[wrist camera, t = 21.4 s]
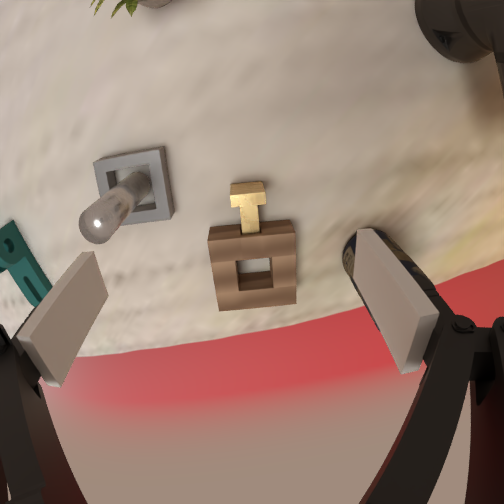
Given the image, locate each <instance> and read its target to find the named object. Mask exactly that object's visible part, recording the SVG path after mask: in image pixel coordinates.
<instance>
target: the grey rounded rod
mask: <svg viewBox="0 0 504 504" xmlns="http://www.w3.org/2000/svg"><path fill="white" fill-rule="evenodd" d="M150 187H151V184H150V180H149V178H148V177H147V176H146V175H145V174H144V173H141V172H134V173H131V174H130V175H129V176H127V177H126V178H125V179H123V180H122V181H121V182H119V183H118V184H117V185H116V186H114V187H113V188H112V189H110V190H109V191H108V192H107V193H105V194H104V195H103V196H102V197H100V198H99V199H98V200H97V201H96V202H94V203H93V204H92V205H91V206H90V207H88V208H87V209H86V210H85V211H84V212H83V213H82V214H81V216H80V218H79V228H80V231H81V233H82V235H83V236H84V238H85V239H87V240H88V241H89V242H91V243H94V244H102V243H105V242H107V241H108V240H109V239H110V237H111V236H112V235H113V234H114V232H115V231H116V230H117V229H118V228H119V226H120V225H121V224H122V223H123V222H124V220H125V219H126V218H127V217H128V216H129V214H130V213H131V212H132V211H133V210H134V209H135V207H136V206H137V205H138V204H139V203H140V202H141V201H142V199H143V198H144V197H145V196H146V195H147V194H148V192H149V190H150Z"/></svg>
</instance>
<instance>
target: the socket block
mask: <svg viewBox="0 0 504 504" xmlns="http://www.w3.org/2000/svg"><path fill="white" fill-rule="evenodd" d="M259 231H260V233H255V234H245V235H242V225H241V224H236V225H226V226H216V227H210V230H209V235H208V248H209V254H210V260H211V266H212V272H213V278H214V284H215V290H216V296H217V302H218V307H219V311H229V310H240V309H251V308H261V307H271V306H281V305H290V304H296V238H295V231H294V229H293V226H292V224H291V222H290V220H279V221H268V222H259ZM258 258H269V259H270V271H265V272H255V273H244V274H238V268H237V261H238V260H248V259H258Z"/></svg>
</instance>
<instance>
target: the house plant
mask: <svg viewBox="0 0 504 504" xmlns="http://www.w3.org/2000/svg"><path fill="white" fill-rule="evenodd" d="M103 1H104V0H100V1H99V3H98V5H97V7H96V9H95V14H96V12H97V10H98V9H99V7H100V6H101V4H102V3H103ZM170 1H171V0H122V1H121V2H119V3H118V4H117V6H116V8H115V10H114V11H113V13H112V17H113V16H114V14H115V13H116V12H117V11H118V9H119V8H120V7H121V6H122V5H124V4H125V3H126V8H127V10H128V12H129V13H130V15H131V17H132V14H133V12H134V11H135V10H136V7H137V3H138V4H141V5H144V6H146V7H149V8H158V7H162V6H164V5H166V4H167V3H169V2H170ZM94 2H95V0H93V1H92V3H91V6H92V4H93V3H94ZM91 6H90V7H91ZM95 14H94V15H95ZM112 17H111V18H112Z"/></svg>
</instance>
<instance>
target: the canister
mask: <svg viewBox="0 0 504 504" xmlns="http://www.w3.org/2000/svg"><path fill="white" fill-rule="evenodd" d="M374 232H375V233H376V234H377V235H378V236H379V237H380V238H381V240H382V241H383V242H384V243H385V244H386V246H387V247H388V248H389V249H390V250H391V251H392V253H393V254H394V255H395V256H396V257H397V259H398V260H399V261H400V262H401V264H402V265H403V266H404V267H405V269H406V270H407V271H408V272H409V274H410V275H411V276H414V275H420V276H421V277H423V278H425V279H426V280H428V281H429V282H430V284H431V285H432V286H433V287H434V290H436V288H435V286H434V285H433V283H432V282H431V281H430V279H429V278H428V277H427V276H426V275H425V274H424V272H423V271H422V270H421V269H420V268H419V267H418V266H417V265H416V264H415V263H414V261H413V260H412V259H411V258H410V257H409V256H408V255H407V254H406V253H405V252H404V251H403V250H402V249H401V248H400V247H399V246H398V245H397V244H396V243H395V242H394V241H393V240H392V239H391V238H390V237H389V236H388V235H387V234H386V233H384V232H382V231H379V230H374ZM356 240H357V235H356V236H354V237H353V238H352V239H351V240H350V241H349V242H348V244H347V245H346V247H345V249H344V253H343V266H344V269H345V271H346V272H347V274H348V275H349V277H350V279H351V281H352V283H353V285H354V287H355V289H356V291H357V292H358V294H359V296H360V297H361V299H362V301H363V303H364V305H365V306H366V308H367V310H368V312H369V314H370V316H371V317H372V319H373V321H374V322H375V325H376V327H377V328H378V330H379V331H380V329H379V327H378V325H377V323H376V321H375V319H374V318H373V316H372V314H371V312H370V310H369V308H368V306H367V304H366V302H365V300H364V298H363V296H362V294H361V292H360V290H359V289H358V287H357V285H356V283H355V281H354V279H353V273H354V263H355V252H356Z"/></svg>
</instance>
